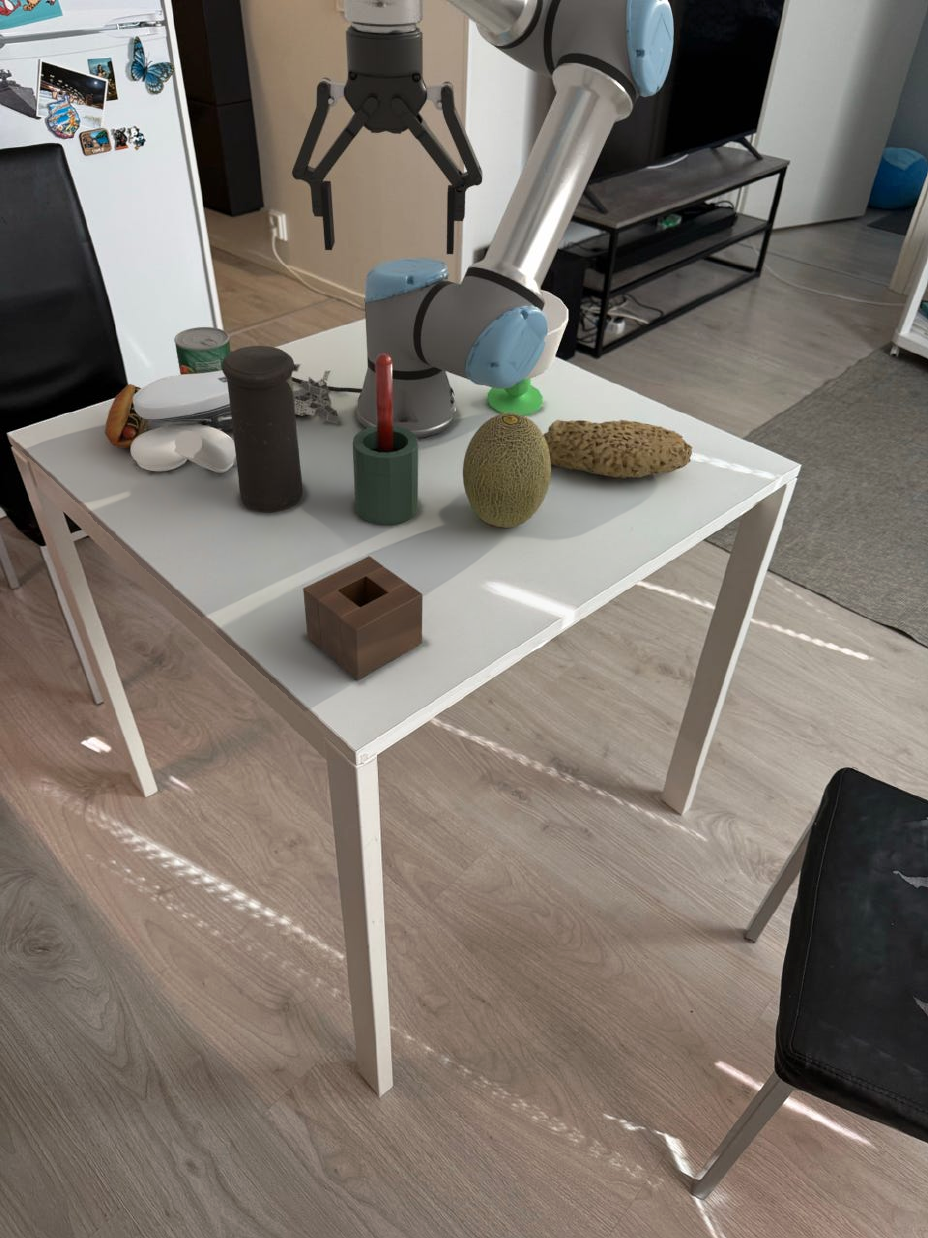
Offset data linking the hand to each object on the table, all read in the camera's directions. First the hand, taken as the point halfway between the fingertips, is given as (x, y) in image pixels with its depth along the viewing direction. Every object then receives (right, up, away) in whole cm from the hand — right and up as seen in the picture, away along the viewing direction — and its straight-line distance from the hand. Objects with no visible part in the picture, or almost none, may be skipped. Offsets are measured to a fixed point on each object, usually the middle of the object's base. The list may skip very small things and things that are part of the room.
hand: (390, 248), depth 102 cm
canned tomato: (-31, -9, +38) cm, 50 cm away
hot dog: (-43, -14, +30) cm, 54 cm away
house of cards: (-16, -5, +37) cm, 40 cm away
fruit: (+13, -29, +18) cm, 36 cm away
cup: (+16, -7, +43) cm, 47 cm away
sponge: (+30, -20, +29) cm, 47 cm away
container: (-18, -26, +20) cm, 37 cm away
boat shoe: (-27, -7, +27) cm, 39 cm away
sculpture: (-30, -20, +25) cm, 44 cm away
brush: (-2, -27, +18) cm, 32 cm away
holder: (-3, -44, -2) cm, 44 cm away
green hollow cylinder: (-2, -27, +19) cm, 33 cm away
